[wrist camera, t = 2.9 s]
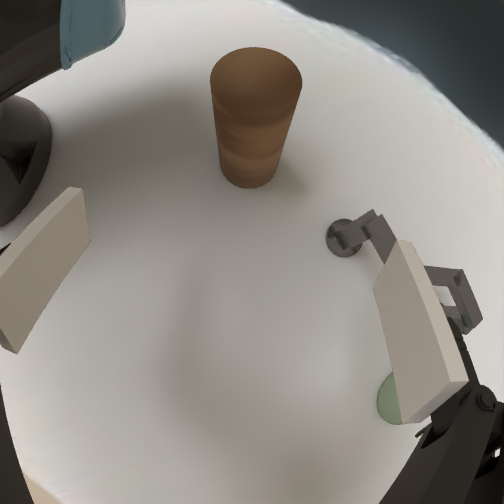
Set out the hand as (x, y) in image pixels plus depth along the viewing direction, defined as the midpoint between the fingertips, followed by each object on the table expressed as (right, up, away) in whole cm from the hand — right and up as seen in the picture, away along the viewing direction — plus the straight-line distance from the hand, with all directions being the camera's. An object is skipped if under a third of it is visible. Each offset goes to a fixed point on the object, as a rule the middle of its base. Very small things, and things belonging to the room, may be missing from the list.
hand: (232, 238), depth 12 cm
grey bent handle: (+13, -3, +14) cm, 19 cm away
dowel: (0, +7, +15) cm, 16 cm away
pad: (+15, -14, +13) cm, 24 cm away
